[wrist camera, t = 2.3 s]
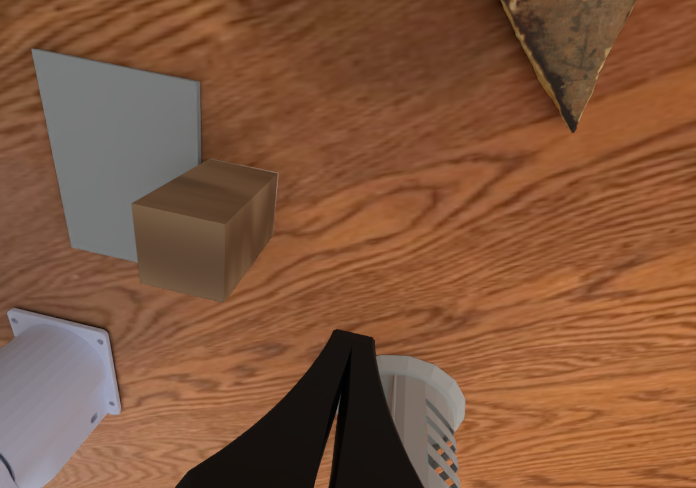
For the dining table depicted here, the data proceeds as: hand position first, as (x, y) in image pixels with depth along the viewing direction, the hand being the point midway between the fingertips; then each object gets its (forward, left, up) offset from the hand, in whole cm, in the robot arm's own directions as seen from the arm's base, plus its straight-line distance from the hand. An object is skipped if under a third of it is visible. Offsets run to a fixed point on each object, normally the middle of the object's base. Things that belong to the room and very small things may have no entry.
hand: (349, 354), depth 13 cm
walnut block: (0, +8, -10) cm, 13 cm away
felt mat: (0, +15, -10) cm, 18 cm away
